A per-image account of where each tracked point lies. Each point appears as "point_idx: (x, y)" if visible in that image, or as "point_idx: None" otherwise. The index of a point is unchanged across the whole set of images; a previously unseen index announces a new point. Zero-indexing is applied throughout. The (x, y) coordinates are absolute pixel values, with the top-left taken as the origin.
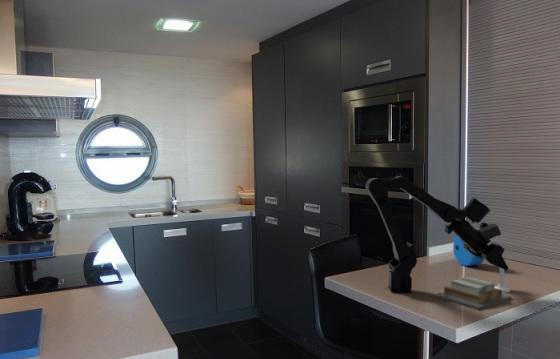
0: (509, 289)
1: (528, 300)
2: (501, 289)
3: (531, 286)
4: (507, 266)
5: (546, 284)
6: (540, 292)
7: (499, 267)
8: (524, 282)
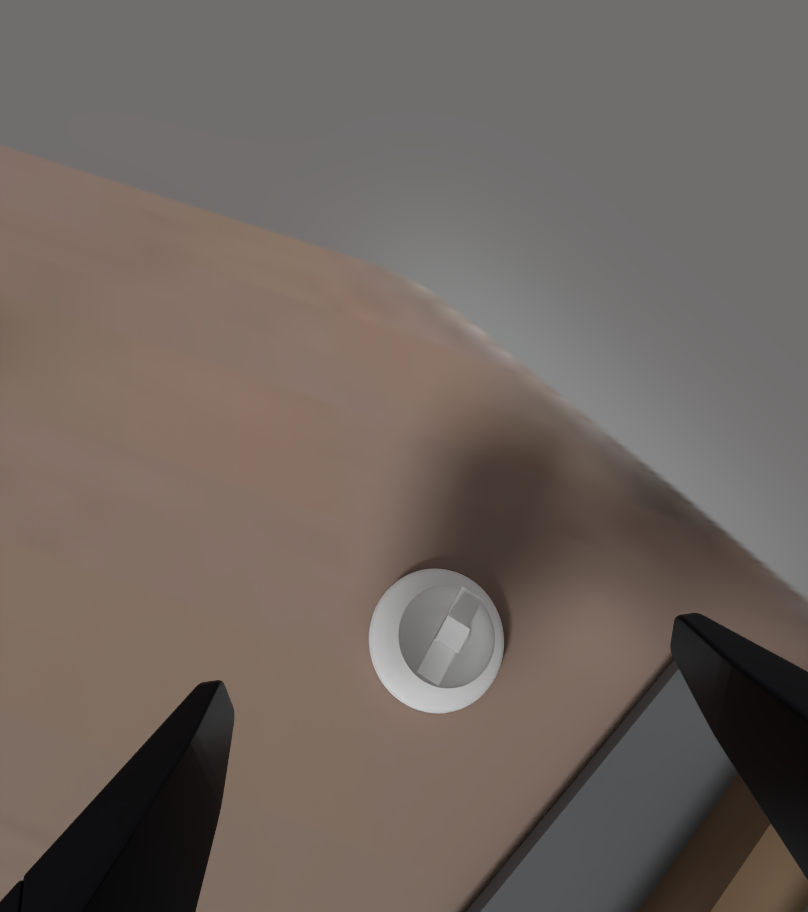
0: (466, 577)
1: (683, 514)
2: (494, 659)
3: (302, 369)
4: (740, 638)
5: (251, 268)
6: (448, 364)
7: (465, 682)
8: (199, 379)
